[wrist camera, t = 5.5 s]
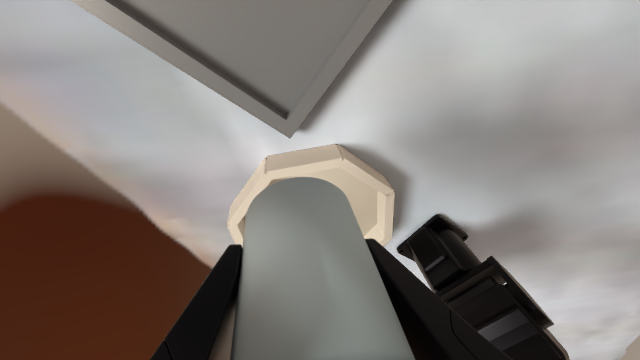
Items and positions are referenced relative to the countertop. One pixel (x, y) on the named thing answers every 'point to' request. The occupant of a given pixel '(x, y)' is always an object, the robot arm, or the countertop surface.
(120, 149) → the countertop surface
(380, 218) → the bowl
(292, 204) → the peg
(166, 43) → the tray
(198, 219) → the countertop surface
